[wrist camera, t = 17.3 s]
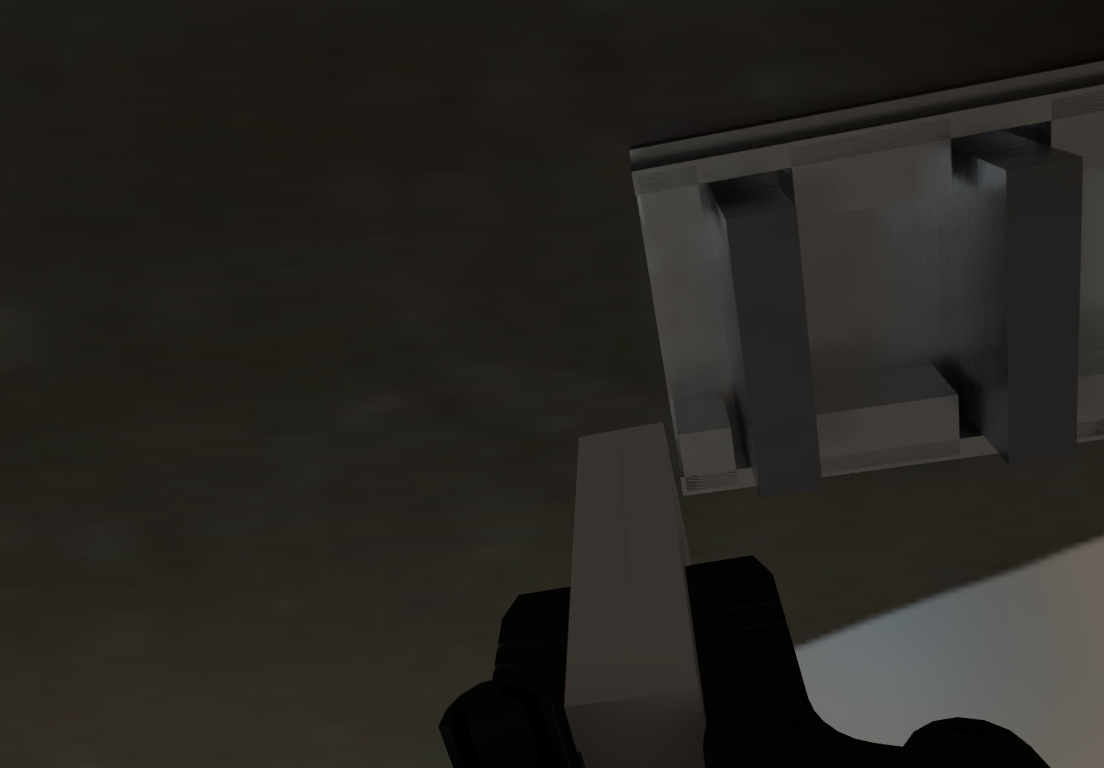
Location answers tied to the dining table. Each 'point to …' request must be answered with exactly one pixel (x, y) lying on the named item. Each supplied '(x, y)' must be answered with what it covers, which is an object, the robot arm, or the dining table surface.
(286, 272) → the dining table surface
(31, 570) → the dining table surface
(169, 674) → the dining table surface
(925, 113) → the rack
